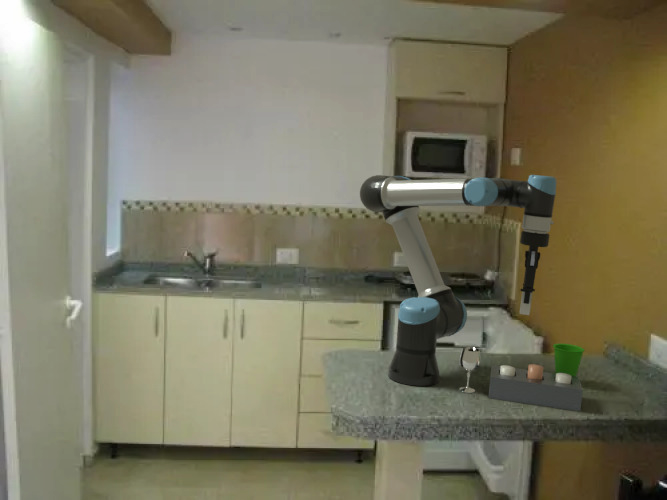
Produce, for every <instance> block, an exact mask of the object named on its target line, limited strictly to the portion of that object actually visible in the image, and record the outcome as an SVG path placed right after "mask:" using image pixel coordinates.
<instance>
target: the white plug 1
mask: <svg viewBox="0 0 667 500" xmlns="http://www.w3.org/2000/svg"><path fill="white" fill-rule="evenodd" d="M500 366H501V368H500V374H501V375H508V376H514V375H515V368H516V367H515V366H511V365H500Z"/></svg>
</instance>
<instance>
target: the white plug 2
mask: <svg viewBox="0 0 667 500" xmlns="http://www.w3.org/2000/svg"><path fill="white" fill-rule="evenodd" d="M555 374H556V380H555V382H558V383H565V384H571V375H569V374H566V373H556V372H555Z"/></svg>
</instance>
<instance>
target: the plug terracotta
mask: <svg viewBox="0 0 667 500" xmlns="http://www.w3.org/2000/svg"><path fill="white" fill-rule="evenodd" d="M527 368H528V369H527V370H528V376H527V378H530V379H537V380H542V377H543V372H544V366H543V365H540V364H534V363H533V364H528V367H527Z"/></svg>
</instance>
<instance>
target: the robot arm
mask: <svg viewBox="0 0 667 500" xmlns="http://www.w3.org/2000/svg"><path fill="white" fill-rule="evenodd" d="M359 190H360V191H359V198H360V202H361V203H362V205H363V206H364V207H365V208H366V209H367V210H369V211H371V212H374V213H381V214H382V215H383V218H384V220H385V223H386V224H388V225H391V226H392V228H393V231H394V234H395V236H396V239H397V241H398V244H399V246H400V248H401V249H400V250H401V252H402V255H403V256H404V259H405V263H406V265H407V267H408V270H409V273H410V275H411V278H412V281H413V283H414V286H415V288H416V291H417V294H418V296H417V297H409V298H405V299H404V300H403V301H402V302H401V303H400V304H399V310H398V312H397V313H398V315H397V317H398V320H397V333H396V344H395V345H396V348H395V352H394V354H393V357H392V359H391V360H390V363H389V365H388V369H387V371H388V372H387V373H388V374H387V376H388V378H389V379H390V380H392V381H394V382H397V383H400V384H402V385H403V384H404V385H408V386H418V387H423V386H425V387H426V386H427V387H428V386H431V385H432V386H433V385H436V384H438V383H439V382H440V368H439V365H438V361H437V357H436V356H437V355H436V353H437V351H436V350H437V342H438V341H437V340H440V339H442V338H445V337H452V336H454V335H455V334H457V333H460V331H462V329H464V327H465V325H466V323H467V321H468V320H467V319H468V311H467V310H468V309H467V308H466V304H464V302H463V301H462V300H461V299H459V298H458V297H457V296H455V293H454V292H453V290H452V288H451V287H449V286H448V285H446V284H445V283H444V280H443V278H442V275H441V272H440V271H439V270H440V269H439V267H438V265H437V263H436V259H435V257H434V255H433V252H432V249H431V247H430V245H429V242H428V239H427V237H426V235H425V232H424V228H423V227H422V223H421V222H420V220H419V219H420V218H419V217H418V215H419V212H420V210H421V209H420V207H428V206H429V207H438V206H439V207H440V206H441V207H442V206H443V207H444V206H445V207H446V206H447V207H458V206H459V207H463V206H466V207H467V206H468V207H469V206H470V207H493V206H494V207H512V208H520V209H524V210H523V211H524V212H523V215H522V216H523V217H522V224H521V228H522V229H523V230H522V231H521V232H520V241H519V242H520V244H522V245H524V246H528V250H525V253H524V258H525V260H524V267H525V269H524V270H525V271H524V277H523V283H522V288H520V291H519V292H521V299H520V305H519V306H520V307H519V315H523V316H524V315H525V316H526V315H527V316H530V314H531V313H530V312H531V306H532V299H533V292H535V290H536V289H535V288H534V285H535V280H536V272H537V269H538V266H539V261H540V258H541V252H539V248H547V247H548V246H549V240H550V234H549V233H548V232H550V231H551V225H554V221H553V220H552V219H553V213H554V212H553V211H554V207H555V206H554V205H555V199H556V195H557V179H556V177H555V176H550V175H549V176H548V175H537V174H530V175H528V178H527V180H516V179H515V180H514V179H510V178H509V179H507V178H502V177H501V178H500V177H497V178H494V177H493V178H489V177H474V178H449V179H448V178H444V179H442V178H441V179H439V178H438V179H437V178H436V179H411V178H409V177H405V176H402V175H381V174H379V175H378V174H377V175H372V176H370V177H368V178H367V179H366V180H364V181H363V183H362V184H361V187H360V189H359Z"/></svg>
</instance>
